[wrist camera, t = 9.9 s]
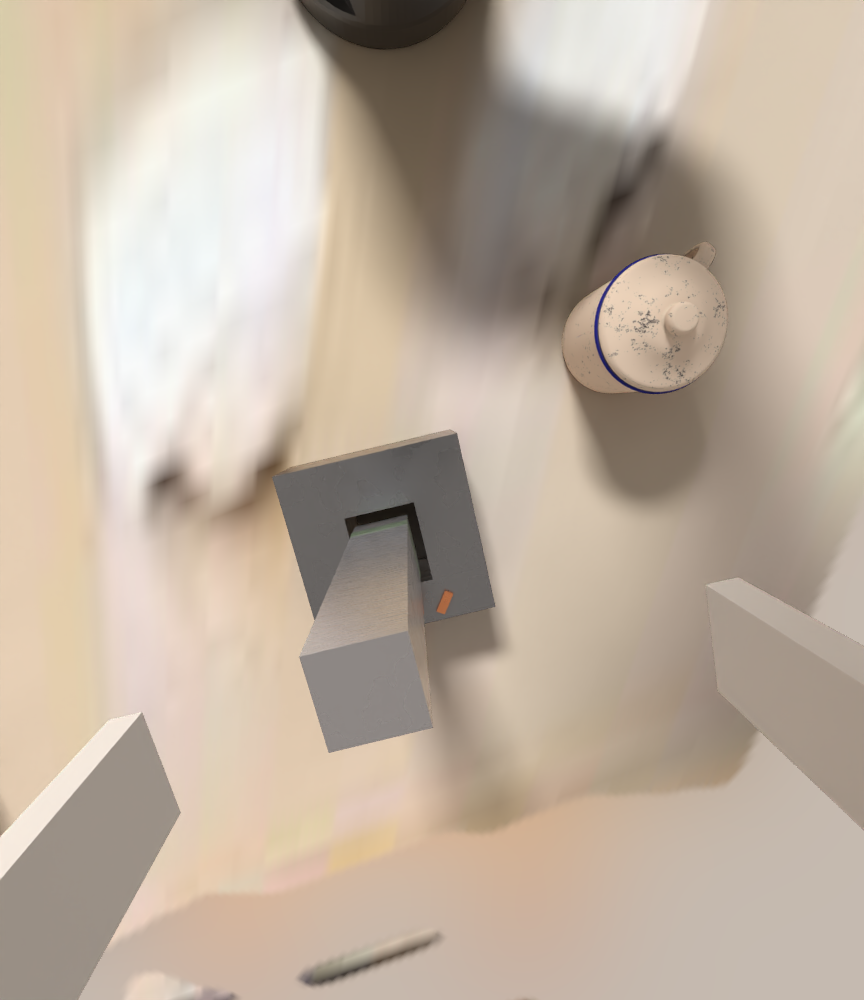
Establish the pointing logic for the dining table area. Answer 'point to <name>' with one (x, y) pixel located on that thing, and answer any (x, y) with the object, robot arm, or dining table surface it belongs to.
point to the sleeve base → (380, 485)
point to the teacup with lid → (649, 325)
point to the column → (371, 642)
